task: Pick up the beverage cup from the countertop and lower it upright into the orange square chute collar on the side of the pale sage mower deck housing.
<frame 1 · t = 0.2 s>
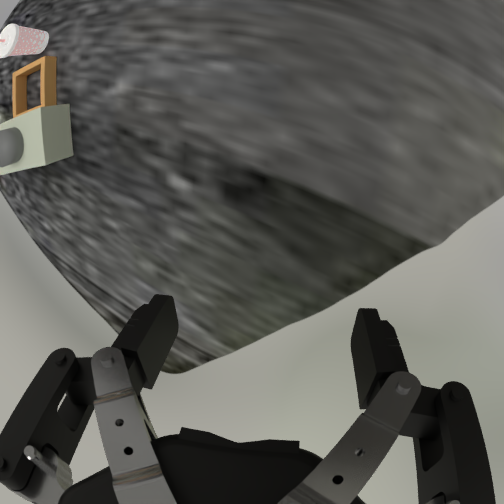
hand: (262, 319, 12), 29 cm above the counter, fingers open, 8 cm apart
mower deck: (38, 88, 35), on the counter
beverage cup: (41, 42, 31), on the counter
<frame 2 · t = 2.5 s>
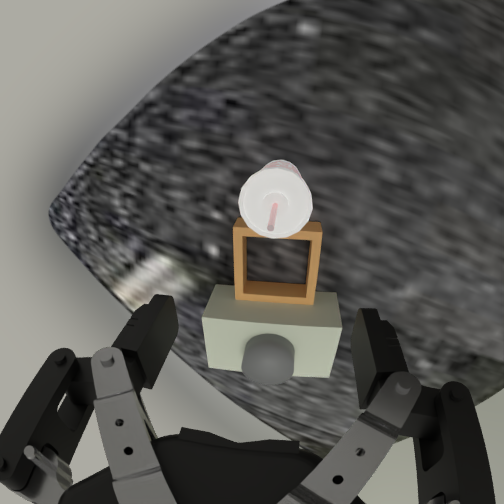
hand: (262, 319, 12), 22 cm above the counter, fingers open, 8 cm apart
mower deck: (277, 256, 36), on the counter
beverage cup: (280, 179, 32), on the counter
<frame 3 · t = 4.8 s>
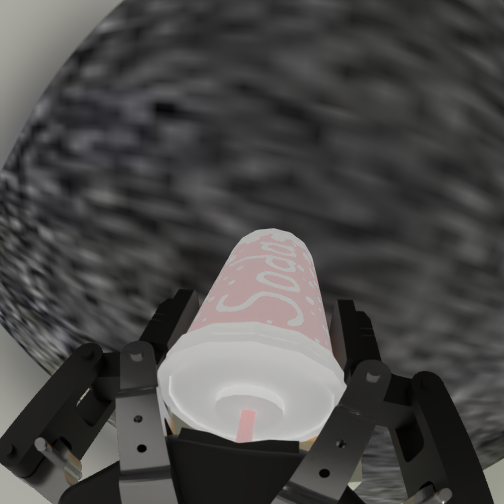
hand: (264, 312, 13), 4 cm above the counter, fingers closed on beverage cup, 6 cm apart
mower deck: (267, 377, 21), on the counter
beverage cup: (271, 265, 16), on the counter, touching gripper
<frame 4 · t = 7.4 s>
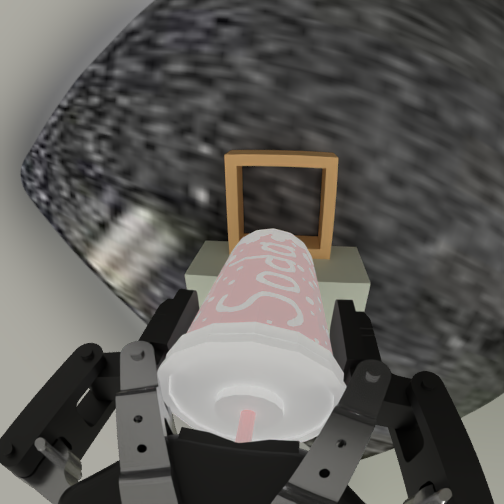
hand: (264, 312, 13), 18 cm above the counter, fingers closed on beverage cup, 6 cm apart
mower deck: (281, 199, 28), on the counter
beverage cup: (271, 265, 16), point 13 cm above the counter, touching gripper
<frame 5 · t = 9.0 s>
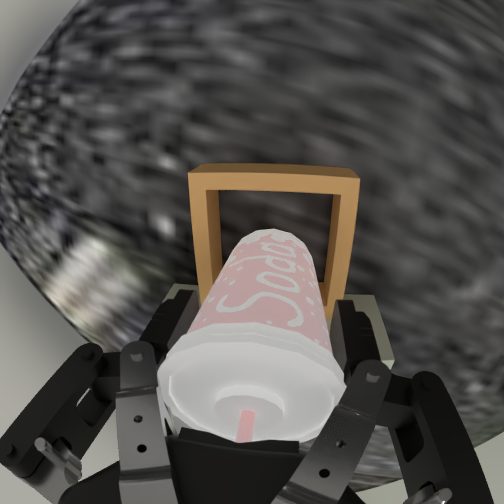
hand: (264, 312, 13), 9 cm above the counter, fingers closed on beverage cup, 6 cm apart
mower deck: (274, 232, 20), on the counter
beverage cup: (271, 265, 16), point 4 cm above the counter, touching gripper
when the fingers open (5 cm above the counter, at t = 10.2 s): beverage cup drops 1 cm, resting in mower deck.
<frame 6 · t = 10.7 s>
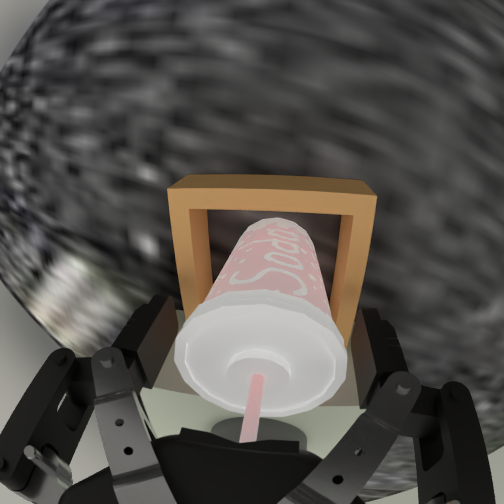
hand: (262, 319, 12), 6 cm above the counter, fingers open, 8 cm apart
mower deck: (272, 255, 18), on the counter
beverage cup: (275, 252, 18), resting in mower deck
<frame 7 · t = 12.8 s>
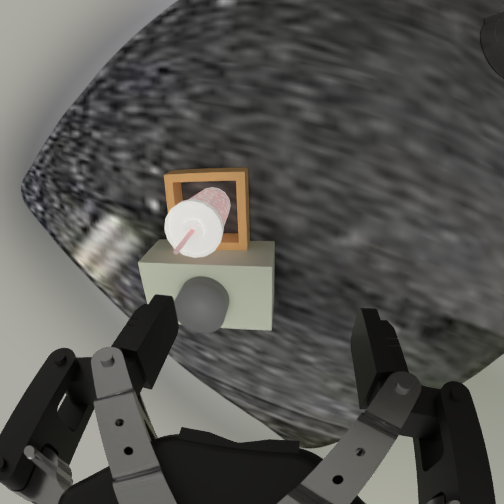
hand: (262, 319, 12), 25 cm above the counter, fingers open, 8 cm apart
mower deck: (211, 205, 37), on the counter
beverage cup: (213, 204, 37), resting in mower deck
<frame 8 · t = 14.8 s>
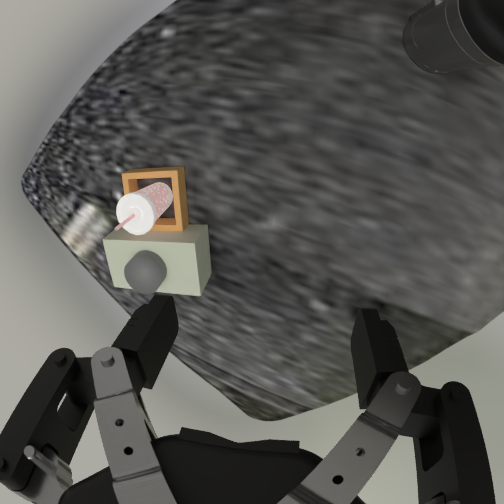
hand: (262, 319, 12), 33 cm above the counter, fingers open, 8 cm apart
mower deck: (159, 196, 46), on the counter
beverage cup: (160, 195, 46), resting in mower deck
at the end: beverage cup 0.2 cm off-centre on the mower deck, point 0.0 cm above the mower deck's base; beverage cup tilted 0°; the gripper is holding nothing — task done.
